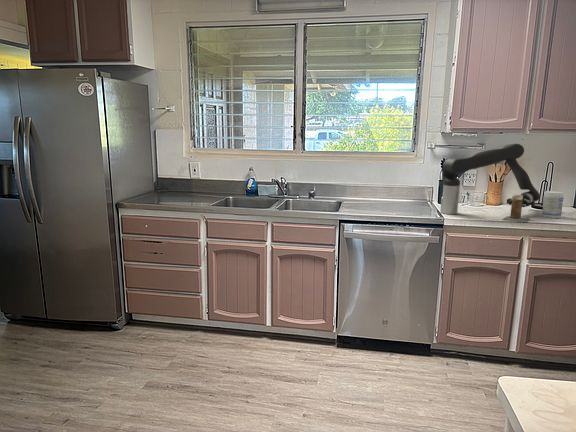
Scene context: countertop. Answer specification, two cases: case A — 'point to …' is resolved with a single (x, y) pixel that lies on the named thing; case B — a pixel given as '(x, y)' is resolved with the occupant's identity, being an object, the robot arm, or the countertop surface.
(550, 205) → the supplement tub
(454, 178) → the robot arm
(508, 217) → the rubber mat
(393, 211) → the countertop surface
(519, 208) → the walnut post
